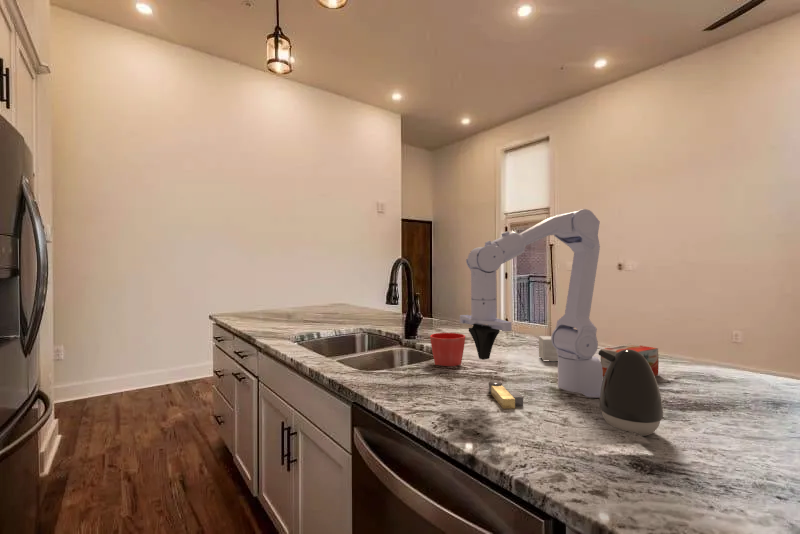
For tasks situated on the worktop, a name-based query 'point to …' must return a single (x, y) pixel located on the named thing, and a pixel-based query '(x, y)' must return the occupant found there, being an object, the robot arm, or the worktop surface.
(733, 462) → the worktop surface
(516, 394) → the block
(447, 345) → the flower pot
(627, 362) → the pump dispenser
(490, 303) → the robot arm
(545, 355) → the product box
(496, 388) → the latch arm
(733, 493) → the worktop surface
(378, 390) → the worktop surface
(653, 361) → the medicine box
